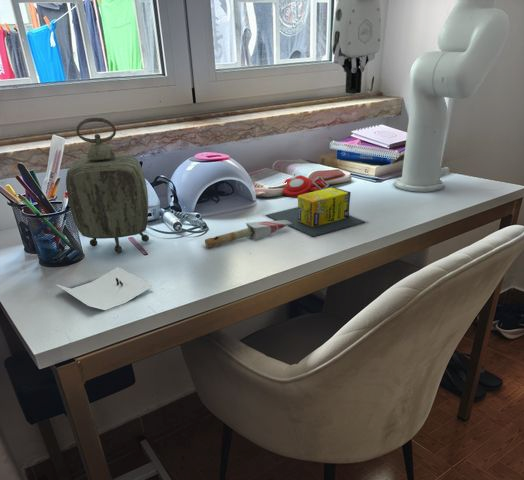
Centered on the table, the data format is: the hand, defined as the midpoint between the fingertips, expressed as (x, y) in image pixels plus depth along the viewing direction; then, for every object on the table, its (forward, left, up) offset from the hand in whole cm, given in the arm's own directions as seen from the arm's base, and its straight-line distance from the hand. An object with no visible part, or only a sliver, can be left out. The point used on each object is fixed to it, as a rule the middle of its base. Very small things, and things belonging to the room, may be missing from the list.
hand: (353, 92), depth 109 cm
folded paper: (+65, +11, -25) cm, 70 cm away
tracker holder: (+1, -15, -25) cm, 30 cm away
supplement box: (+5, +5, -22) cm, 23 cm away
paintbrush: (+31, +4, -25) cm, 40 cm away
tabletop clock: (+56, -7, -25) cm, 62 cm away
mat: (+12, +3, -25) cm, 28 cm away
